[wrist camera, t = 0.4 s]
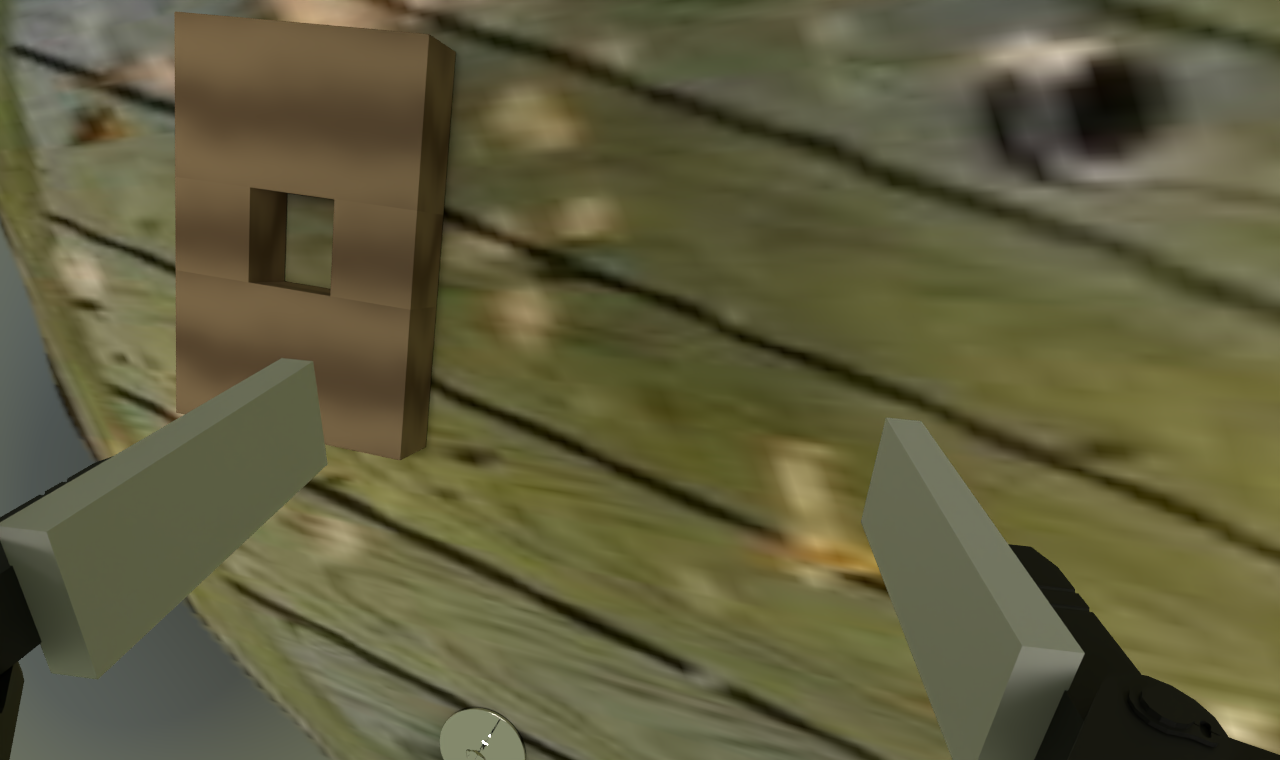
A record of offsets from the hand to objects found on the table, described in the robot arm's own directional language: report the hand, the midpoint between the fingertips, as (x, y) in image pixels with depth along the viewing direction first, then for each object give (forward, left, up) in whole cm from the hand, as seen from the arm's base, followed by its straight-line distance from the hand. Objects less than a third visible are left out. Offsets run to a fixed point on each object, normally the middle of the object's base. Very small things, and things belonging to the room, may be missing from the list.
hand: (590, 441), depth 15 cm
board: (-2, -25, -23) cm, 34 cm away
